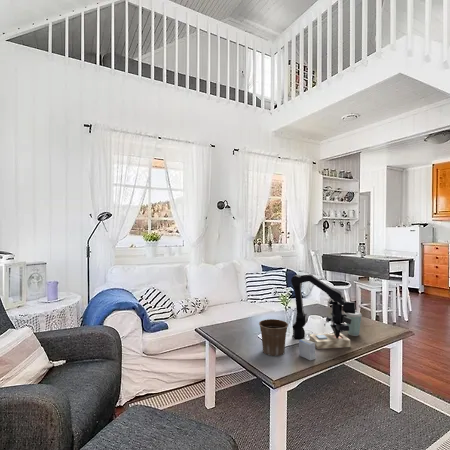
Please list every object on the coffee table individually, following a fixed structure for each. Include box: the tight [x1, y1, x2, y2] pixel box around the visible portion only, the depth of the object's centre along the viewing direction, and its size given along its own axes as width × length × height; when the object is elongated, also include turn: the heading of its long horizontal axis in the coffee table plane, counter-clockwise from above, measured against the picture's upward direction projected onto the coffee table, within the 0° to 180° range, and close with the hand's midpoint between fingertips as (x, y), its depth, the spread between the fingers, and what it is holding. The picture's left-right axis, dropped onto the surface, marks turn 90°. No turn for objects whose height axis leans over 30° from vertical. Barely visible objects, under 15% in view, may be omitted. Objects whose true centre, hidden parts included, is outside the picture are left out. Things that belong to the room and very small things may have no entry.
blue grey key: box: [316, 335, 327, 340], centre depth 183 cm, size 5×5×3 cm
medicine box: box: [298, 338, 316, 361], centre depth 165 cm, size 8×4×9 cm, turn 33°
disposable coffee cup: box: [343, 309, 363, 337], centre depth 198 cm, size 11×11×15 cm
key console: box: [309, 332, 351, 350], centre depth 183 cm, size 20×12×4 cm, turn 96°
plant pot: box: [258, 318, 289, 357], centre depth 173 cm, size 16×16×16 cm
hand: (337, 337), depth 184 cm, fingers closed, pressing on terracotta key
